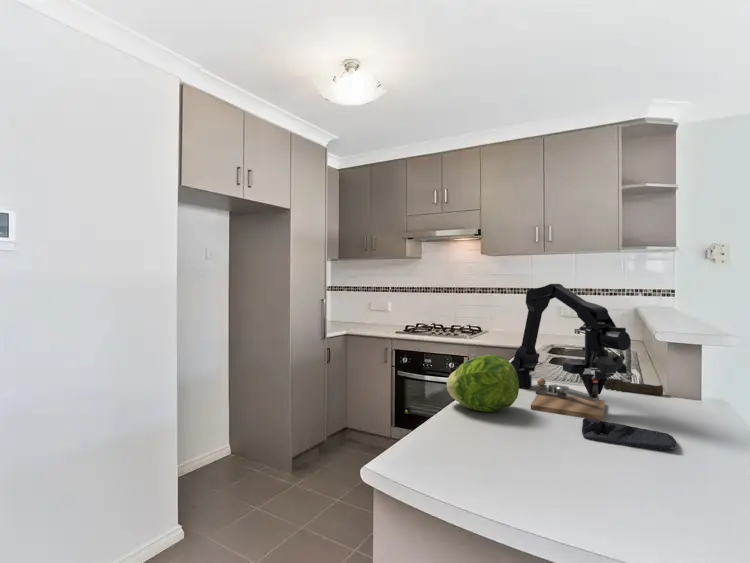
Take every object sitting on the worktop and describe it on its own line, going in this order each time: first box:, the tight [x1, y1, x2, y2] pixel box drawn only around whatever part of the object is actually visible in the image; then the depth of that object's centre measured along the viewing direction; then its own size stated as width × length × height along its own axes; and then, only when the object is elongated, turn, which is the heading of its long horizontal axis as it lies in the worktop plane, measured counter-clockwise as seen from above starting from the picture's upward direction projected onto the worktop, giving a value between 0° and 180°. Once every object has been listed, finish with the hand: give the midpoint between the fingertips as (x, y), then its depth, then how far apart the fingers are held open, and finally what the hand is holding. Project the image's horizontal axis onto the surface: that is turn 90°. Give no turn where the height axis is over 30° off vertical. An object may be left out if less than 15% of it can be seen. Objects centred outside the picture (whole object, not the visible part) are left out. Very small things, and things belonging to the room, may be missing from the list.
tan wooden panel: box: [530, 377, 606, 421], centre depth 140 cm, size 22×18×7 cm
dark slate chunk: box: [581, 418, 678, 451], centre depth 114 cm, size 15×22×5 cm
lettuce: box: [446, 353, 520, 413], centre depth 137 cm, size 19×23×18 cm
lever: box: [548, 376, 600, 402], centre depth 141 cm, size 18×4×8 cm, turn 27°
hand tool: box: [603, 377, 664, 398], centre depth 159 cm, size 19×4×5 cm, turn 59°
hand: (594, 394), depth 135 cm, fingers closed on lever, 3 cm apart
